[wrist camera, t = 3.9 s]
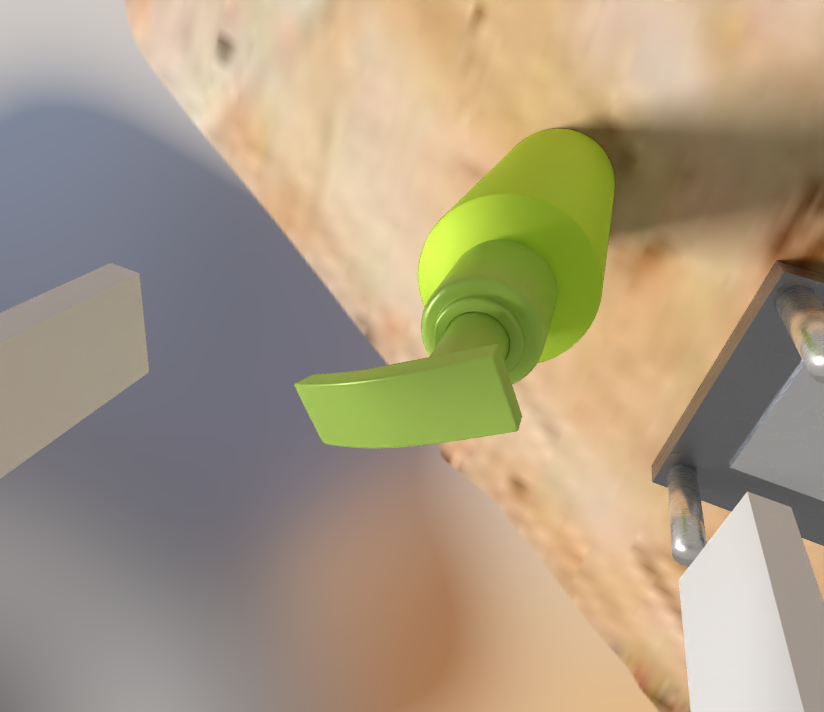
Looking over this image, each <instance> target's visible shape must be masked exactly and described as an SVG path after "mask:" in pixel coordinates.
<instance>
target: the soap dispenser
mask: <svg viewBox="0 0 824 712" xmlns="http://www.w3.org/2000/svg"><path fill="white" fill-rule="evenodd" d="M614 192H615V177H614V171H613V168H612V165H611V162H610V160H609V158H608V156H607V154H606V153H605V152H604V150H603V149H602V148H601V147H600V146H599V145H598V144H597V143H596V142H595V141H594V140H593V139H591V138H590V137H588V136H586V135H584V134H582V133H580V132H577V131H574V130H570V129H560V128H559V129H548V130H543V131H540V132H537V133H535V134H532V135H530V136H529V137H527V138H525V139H524V140H522V141H521V142H520V143H518V144H517V145H516V146H515V147H514V148H513V149H512V150H511V151H510V152H509V153H508V154H507V155H506V156H505V157H504V158H503V159H502V160H501V161H500V162H499V163H498V164H497V165H496V166H495V167H494V168H493V169H492V170H491V171H489V172H488V173H487V174H486V175H485V176H484V177H483V178H482V179H481V180H480V181H479V182H478V183H477V184H476V185H475V186H474V187H473V188H472V189H471V190H470V191H469V192H468V193H467V194H466V195H465V196H464V197H463V198H462V199H461V200H460V201H459V202H458V203H457V204H456V205H455V206H454V207H452V208H451V209H450V210H449V211H448V212H447V213H446V214H445V215H444V216H443V217H442V218H441V219H440V220H439V222H438V223H437V224H436V225H435V226H434V228H433V229H432V231H431V232H430V234H429V236H428V237H427V239H426V241H425V244H424V246H423V249H422V252H421V256H420V260H419V267H418V283H419V290H420V295H421V298H422V302H423V305H424V307H425V308H424V311H423V315H422V320H421V333H422V339H423V342H424V345H425V348H426V350H427V352H428V354H429V356H430V357H428V358H423V359H418V360H413V361H408V362H403V363H398V364H393V365H387V366H382V367H377V368H371V369H365V370H359V371H352V372H342V373H330V374H329V373H328V374H314V375H311V376H309V377H307V378H305V379H303V380H301V381H299V382H297V383H295V388H296V390H297V392H298V394H299V396H300V398H301V400H302V402H303V404H304V406H305V408H306V410H307V412H308V414H309V416H310V418H311V420H312V422H313V424H314V426H315V428H316V430H317V432H318V434H319V436H320V438H321V439H322V441H323V443H325V444H329V445H334V446H343V447H355V448H395V447H409V446H419V445H427V444H436V443H443V442H451V441H458V440H464V439H471V438H478V437H484V436H491V435H497V434H503V433H509V432H515V431H518V429H519V425H520V422H521V418H522V414H521V411H520V408H519V405H518V402H517V399H516V396H515V393H514V390H513V387H512V384H514V383H516V382H518V381H520V380H521V379H523V378H524V377H525V376H527V375H528V374H529V373H530V372H531V371H532V369H533V368H534V367H535V366H536V364H537V363H540V362H544V361H547V360H549V359H552V358H554V357H556V356H558V355H560V354H562V353H563V352H565V351H566V350H568V349H569V348H570V347H572V346H573V345H574V344H575V343H576V342H578V341H579V340H580V338H581V337H582V336H583V335H584V334H585V333H586V331H587V330H588V329H589V327H590V326H591V324H592V322H593V320H594V318H595V316H596V314H597V311H598V308H599V305H600V301H601V296H602V289H603V281H604V273H605V265H606V257H607V249H608V241H609V233H610V225H611V216H612V208H613V200H614Z"/></svg>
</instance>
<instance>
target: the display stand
mask: <svg viewBox="0 0 824 712" xmlns="http://www.w3.org/2000/svg"><path fill="white" fill-rule="evenodd" d="M652 482H654V483H657V484H659V485H662V486H665V487H667V488H668V499H669V513H670V527H671V541H672V555H673V558H674V559H675V560H676V561H677V562H678V563H679V564H681V565H684V566H687V567H689V566H690V565H691V564H692V562H693V561H694V560H695V558H696V557H697V556H698V555H699V553H700V552H701V551H702V549H703V548H704V547H705V545H706V544H707V541H706V534H705V526H704V519H703V512H702V505H701V500H702V501H705V502H708V503H710V504H713V505H716V506H718V507H721V508H724V509H726V510H729V511H733V509H734V508H735V507H736V505H737V504H738V503H739V502H740V500H741V499H742V498H743V496H744V495H745V494H746V493H747V492H750V493H753V494H756V495H759V496H761V497H764V498H767V499H770V500H772V501H775V502H778V503H781V504H784V505H786V506H789V507H791V508H792V511H793V514H794V517H795V520H796V523H797V526H798V529H799V532H800V535H801V537H802V538H804V539H807V540H809V541H812V542H815V543H818V544H820V545H823V546H824V274H822V273H818V272H815V271H811V270H808V269H804V268H801V267H798V266H794V265H791V264H787V263H784V262H780V261H776V263H775V264H774V266H773V267H772V269H771V271H770V272H769V274H768V276H767V277H766V279H765V281H764V282H763V284H762V286H761V287H760V289H759V290H758V292H757V294H756V295H755V297H754V299H753V300H752V302H751V304H750V305H749V307H748V308H747V310H746V312H745V313H744V315H743V317H742V318H741V320H740V322H739V323H738V325H737V327H736V328H735V330H734V331H733V333H732V335H731V336H730V338H729V340H728V341H727V343H726V345H725V346H724V348H723V350H722V351H721V353H720V354H719V356H718V358H717V359H716V361H715V363H714V364H713V366H712V368H711V369H710V371H709V373H708V374H707V376H706V377H705V379H704V381H703V382H702V384H701V386H700V387H699V389H698V391H697V392H696V394H695V396H694V397H693V399H692V400H691V402H690V404H689V405H688V407H687V409H686V410H685V412H684V414H683V415H682V417H681V419H680V420H679V422H678V423H677V425H676V427H675V428H674V430H673V432H672V433H671V435H670V437H669V438H668V440H667V442H666V443H665V445H664V446H663V448H662V450H661V451H660V453H659V455H658V456H657V458H656V460H655V461H654V463H653V464H652Z"/></svg>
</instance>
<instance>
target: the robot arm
mask: <svg viewBox="0 0 824 712" xmlns="http://www.w3.org/2000/svg"><path fill="white" fill-rule="evenodd" d="M148 372H149V368H148V357H147V347H146V336H145V326H144V316H143V306H142V297H141V286H140V275H139V273H137V272H134V271H131V270H128V269H125V268H123V267H120V266H117V265H114V264H112V263H110V264H108V265H106V266H103V267H101V268H99V269H96V270H94V271H92V272H90V273H88V274H86V275H83V276H81V277H79V278H77V279H74V280H72V281H70V282H68V283H66V284H63V285H61V286H59V287H57V288H54V289H52V290H50V291H48V292H46V293H44V294H41V295H39V296H37V297H35V298H32V299H30V300H28V301H26V302H24V303H21V304H19V305H17V306H15V307H12V308H10V309H8V310H6V311H4V312H1V313H0V478H1V477H3V476H4V475H6V474H7V473H8V472H10V471H11V470H13V469H14V468H15V467H17V466H18V465H20V464H21V463H22V462H24V461H25V460H27V459H28V458H29V457H31V456H32V455H34V454H35V453H36V452H38V451H39V450H41V449H42V448H43V447H45V446H46V445H47V444H49V443H50V442H52V441H53V440H54V439H56V438H57V437H59V436H60V435H61V434H63V433H64V432H66V431H67V430H68V429H70V428H71V427H73V426H74V425H75V424H77V423H78V422H80V421H81V420H82V419H84V418H85V417H87V416H88V415H89V414H91V413H92V412H94V411H95V410H96V409H98V408H99V407H101V406H102V405H103V404H105V403H106V402H108V401H109V400H110V399H112V398H113V397H115V396H116V395H117V394H119V393H120V392H122V391H123V390H124V389H126V388H127V387H128V386H130V385H131V384H133V383H134V382H136V381H137V380H138V379H140V378H141V377H143V376H144V375H145V374H147V373H148ZM679 589H680V599H681V610H682V621H683V632H684V643H685V654H686V665H687V675H688V686H689V697H690V708H691V712H824V602H823V599H822V596H821V593H820V590H819V587H818V584H817V581H816V578H815V576H814V573H813V570H812V567H811V564H810V561H809V558H808V555H807V552H806V549H805V546H804V543H803V540H802V537H801V535H800V532H799V529H798V526H797V523H796V520H795V517H794V514H793V511H792V508H791V507H789V506H786V505H784V504H781V503H778V502H775V501H772V500H770V499H767V498H764V497H761V496H759V495H756V494H753V493H750V492H747V493H746V494H745V495H744V496H743V498H742V499H741V500H740V502H739V503H738V504H737V505H736V507H735V508H734V509H733V511H732V512H731V513H730V514H729V516H728V517H727V518H726V520H725V521H724V522H723V524H722V525H721V526H720V527H719V529H718V530H717V531H716V533H715V534H714V535H713V536H712V538H711V539H710V540H709V542H708V543H707V544H706V545H705V547H704V548H703V549H702V551H701V552H700V553H699V555H698V556H697V557H696V558H695V560H694V561H693V562H692V564H691V565H690V566H689V567H688V569H687V570H686V571H685V573H684V574H683V575H682V576H681V578H680V579H679Z"/></svg>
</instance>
